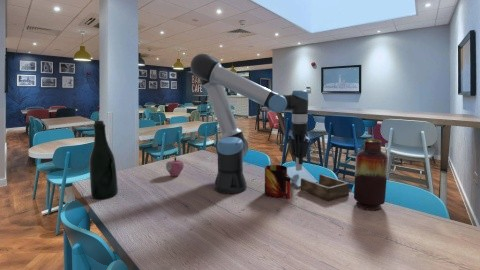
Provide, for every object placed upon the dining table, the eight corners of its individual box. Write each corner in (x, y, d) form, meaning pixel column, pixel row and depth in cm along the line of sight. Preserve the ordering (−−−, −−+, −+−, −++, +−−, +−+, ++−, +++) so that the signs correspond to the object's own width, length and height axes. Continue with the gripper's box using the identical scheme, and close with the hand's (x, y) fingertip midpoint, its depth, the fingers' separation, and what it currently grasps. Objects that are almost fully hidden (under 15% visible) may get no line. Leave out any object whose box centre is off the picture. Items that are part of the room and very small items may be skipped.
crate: (300, 190, 123) (300, 178, 122) (320, 185, 130) (320, 174, 129) (328, 201, 110) (328, 188, 109) (348, 195, 116) (349, 183, 116)
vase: (347, 203, 108) (350, 139, 104) (367, 199, 112) (371, 137, 108) (369, 214, 98) (374, 143, 94) (391, 209, 102) (396, 141, 98)
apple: (164, 175, 147) (163, 157, 145) (178, 172, 153) (177, 155, 151) (172, 179, 140) (171, 160, 138) (187, 176, 146) (186, 158, 144)
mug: (288, 202, 109) (289, 173, 108) (260, 194, 118) (260, 168, 116) (299, 195, 117) (299, 168, 115) (271, 188, 125) (271, 163, 124)
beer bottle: (122, 195, 118) (116, 120, 113) (96, 201, 111) (89, 122, 106) (112, 189, 125) (107, 119, 120) (87, 195, 118) (81, 120, 113)
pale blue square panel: (281, 170, 134) (282, 168, 133) (300, 166, 140) (301, 164, 140) (297, 188, 125) (298, 186, 124) (317, 183, 132) (318, 181, 131)
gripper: (315, 123, 126) (314, 172, 129) (296, 121, 137) (295, 166, 140) (303, 124, 122) (302, 174, 125) (284, 122, 133) (284, 168, 136)
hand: (298, 170), depth 133 cm, fingers closed
